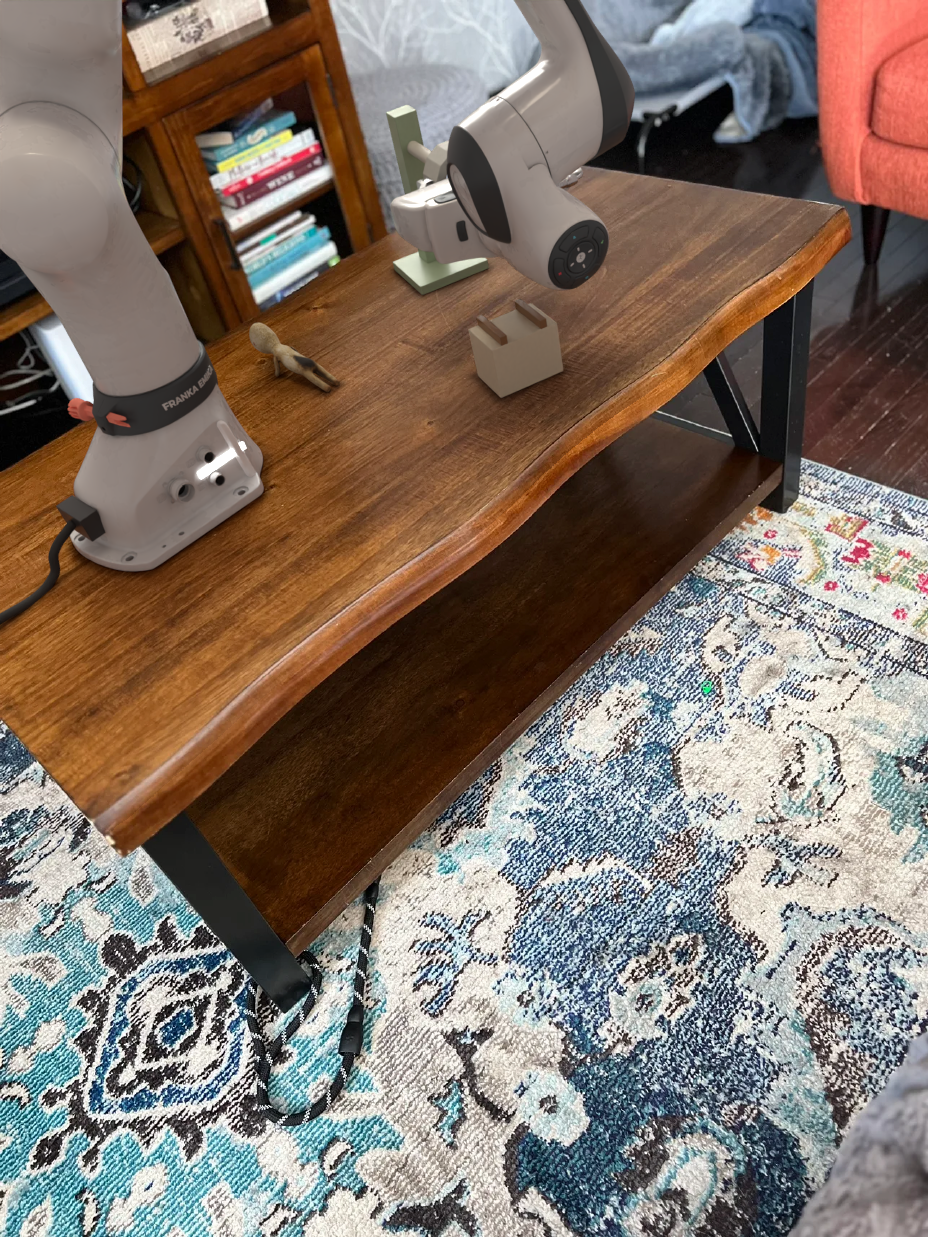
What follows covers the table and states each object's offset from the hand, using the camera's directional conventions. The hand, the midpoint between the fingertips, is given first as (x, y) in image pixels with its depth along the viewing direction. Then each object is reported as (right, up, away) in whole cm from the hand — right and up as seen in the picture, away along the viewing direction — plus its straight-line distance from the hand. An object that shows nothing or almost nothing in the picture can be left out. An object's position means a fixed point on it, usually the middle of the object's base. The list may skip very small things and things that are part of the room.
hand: (453, 173), depth 112 cm
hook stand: (-1, -5, +19) cm, 19 cm away
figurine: (-19, -22, +7) cm, 30 cm away
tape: (0, 0, -1) cm, 1 cm away
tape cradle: (+8, -24, -3) cm, 25 cm away
